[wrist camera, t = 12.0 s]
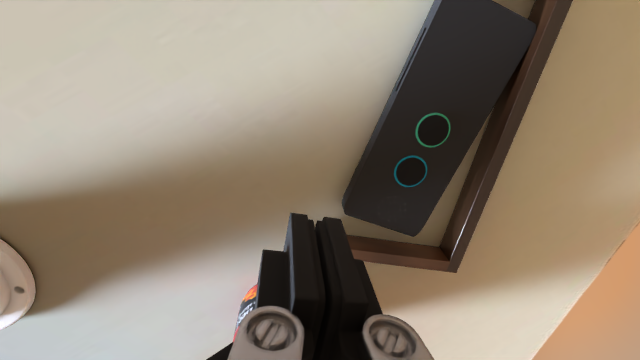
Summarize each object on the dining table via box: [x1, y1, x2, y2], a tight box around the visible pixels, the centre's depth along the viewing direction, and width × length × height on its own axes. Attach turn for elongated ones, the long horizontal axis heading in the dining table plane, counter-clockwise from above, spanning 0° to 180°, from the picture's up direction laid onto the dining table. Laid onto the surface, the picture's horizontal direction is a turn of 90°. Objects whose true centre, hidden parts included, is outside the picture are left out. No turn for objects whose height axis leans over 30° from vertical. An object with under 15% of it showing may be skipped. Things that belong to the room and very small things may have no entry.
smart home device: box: [342, 0, 536, 237], centre depth 28 cm, size 8×2×20 cm
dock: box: [346, 0, 573, 273], centre depth 28 cm, size 16×26×2 cm, turn 169°
